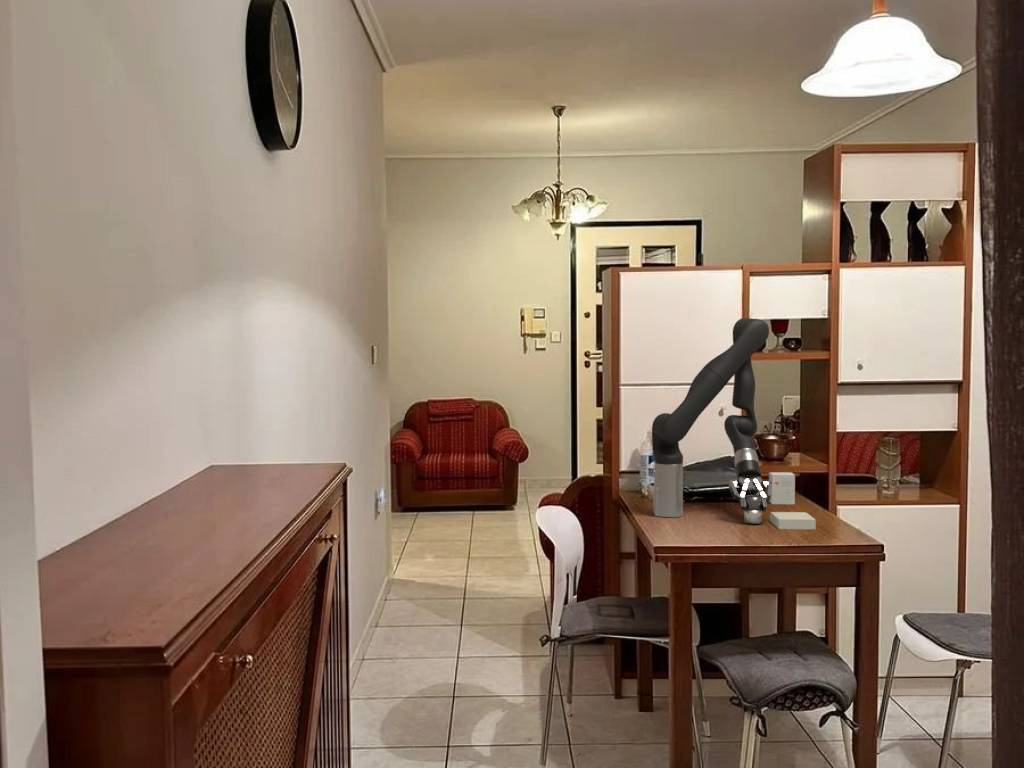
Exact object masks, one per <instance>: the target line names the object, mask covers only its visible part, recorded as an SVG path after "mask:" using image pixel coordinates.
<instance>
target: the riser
mask: <svg viewBox="0 0 1024 768" xmlns="http://www.w3.org/2000/svg"><path fill="white" fill-rule="evenodd" d="M769 517H770V519H769V520H770V523H771V524H773V525H774V526H775V528H777V529H778V530H816V528H817V526H816V525H817V523H816V522H817V521H816V520H817V519H815V518H814V517H813V516H811V515H810V514H809V513H807V512H804V511H803V512H800V511H799V512H798V511H797V512H795V511H787V512H786V511H770V516H769Z"/></svg>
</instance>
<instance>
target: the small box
mask: <svg viewBox="0 0 1024 768" xmlns="http://www.w3.org/2000/svg"><path fill="white" fill-rule="evenodd" d="M769 481H772V482H773V484H772V495H771V497H770V500H768V502H769V503H770V504H771V505H787V506H789V505H793V506H794V505H796V498H795V497H796V491H795V490H796V475H795V474H794V473H793V472H792V471H791V472H787V471H786V472H783V471H782V472H778V471H776V472H774V471H773V472H768V482H769Z"/></svg>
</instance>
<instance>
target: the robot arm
mask: <svg viewBox="0 0 1024 768" xmlns="http://www.w3.org/2000/svg"><path fill="white" fill-rule="evenodd" d="M769 334H770V328H769V325H768V323H767V322H766V321H764V320H763V319H759V318H749V317H743V318H739V319H738V320H737V321H736V322H735V323H734V324H733V328H732V345H731V346H730V347H729V348H728V349H726V350H725V351H723V352H722V353H720V354H718V355H717V356H715V357H714V358H712V359H710V361H709V362H707V363H706V364H705V365H704V366H703V367H702V369H701V370H699V371H698V372H697V374H696V375H695V377H694V379H692V382H691V384H690V386H689V389H688V391H687V394H686V396H685V398H684V399H683V401H682V402H681V403H680V405H678V406H677V407H676V409H675V410H673V412H672V413H668V412H665V413H663V412H662V413H660V414H658V415H656V417H655V418H654V420H653V421H652V425H651V446H652V454H653V458H654V467H653V469H654V471H653V473H654V475H653V476H654V478H653V479H654V481H653V482H654V483H653V485H652V486H653V488H652V489H653V490H652V491H653V493H652V495H653V498H652V499H653V500H652V501H653V504H652V505H653V506H652V508H653V509H652V510H653V511H652V513H653V514H654V516H655V517H660V518H679V517H682V516H683V515H684V514H683V510H684V509H683V505H684V504H683V502H684V500H683V499H684V498H683V497H684V496H683V495H684V490H683V489H684V488H683V487H684V455H683V452H681V449H680V446H679V445H680V444H679V442H681V441H682V440H683V439H684V438H685V437H686V436H687V434H688V433H689V431H690V430H691V428H692V427H693V425H694V424H695V423H696V421H697V420H698V418H699V417H700V415H702V413H703V412H704V410H706V409H707V407H708V406H709V405H710V404H711V403H712V401H714V400H715V398H716V397H717V395H719V394H720V392H721V391H722V390H723V389H724V388H725V387H726V385H727V384H728V383H729V382H730V381H731V380H732V378H734V380H733V390H732V391H733V392H732V401H731V405H732V406H733V407H734V408H735V409H739V410H743V411H744V412H745V415H739V414H738V415H737V414H731V415H728V416H727V417H726V418H725V421H724V423H723V425H724V432H725V434H726V436H727V437H728V440H729V441H730V443H731V446H732V449H733V455H734V467H735V472H736V478H737V479H736V480H735V481H734V480H732V479H730V480H729V481H728V484H727V485H728V489H729V492H730V494H731V496H732V498H733V500H735V501H737V500H738V501H739V504H740V509H741V510H742V511H743V512H745V511H746V509H747V506H746V500H745V495H746V494H755V495H758V496H762V512H765V511H766V510H767V507H768V504H767V503H768V502H767V501H769V500H770V497H771V495H772V484H773V482H772V481H769V480H768V481H764V479H763V478H762V473H761V467H760V462H759V461H760V460H759V456H758V454H757V450H756V449H757V448H756V443H755V440H754V439H753V438H752V437H753V436H755V435H756V434H757V432H758V431H757V430H758V424H757V423H758V422H757V418H756V412H755V393H756V380H755V373H754V370H753V369H754V368H753V366H752V356H753V355H754V354H755V353H756V352H757V351H758V350H759V349H760V348H761V347H762V346H763V345H764V344H765V343H766V342H767V340H768V338H769ZM737 486H738V488H739V489H740V490H741V492H740V493H739V492H738V490H737V488H736V487H737ZM763 486H764V488H765V489H766V493H765V491H764V489H763V488H762V487H763Z"/></svg>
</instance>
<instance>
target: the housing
mask: <svg viewBox="0 0 1024 768" xmlns="http://www.w3.org/2000/svg"><path fill="white" fill-rule="evenodd" d="M744 498H745V500H746V506H747V509H746V511H744V516H743V518H744V519H743V520H744V523H747V524H752V525H753V524H757V525H758V524H762V520H763V519H762V518H763V517H762V514H763V511H762V496H758V495H756V494H745V496H744Z"/></svg>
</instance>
